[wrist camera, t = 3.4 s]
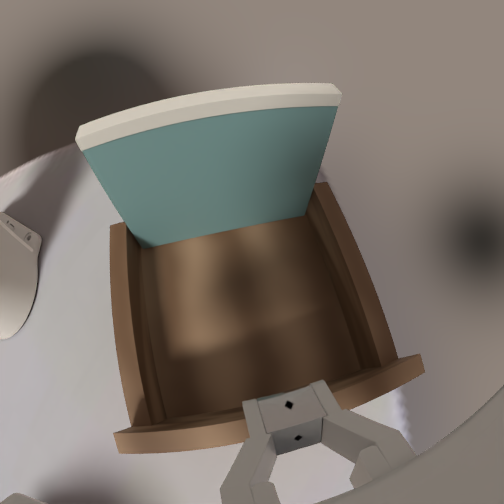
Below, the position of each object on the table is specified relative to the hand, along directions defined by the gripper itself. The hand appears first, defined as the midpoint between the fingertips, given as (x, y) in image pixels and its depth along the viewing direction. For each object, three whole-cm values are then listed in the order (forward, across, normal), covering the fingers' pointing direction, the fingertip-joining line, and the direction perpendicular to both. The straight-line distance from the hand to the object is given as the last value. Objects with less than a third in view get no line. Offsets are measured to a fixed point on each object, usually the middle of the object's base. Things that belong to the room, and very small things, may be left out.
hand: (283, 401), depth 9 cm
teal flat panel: (+20, 0, -2) cm, 20 cm away
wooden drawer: (+15, 0, +6) cm, 17 cm away
